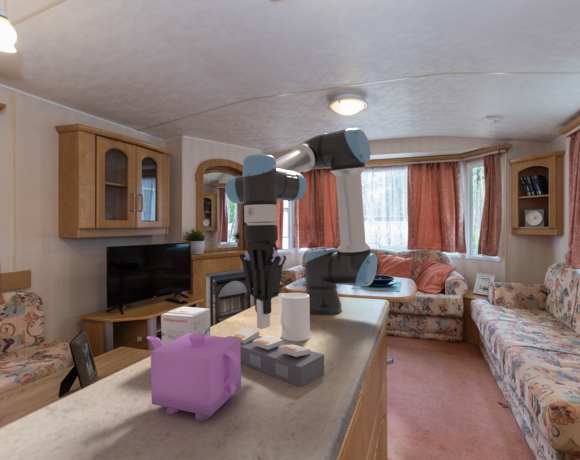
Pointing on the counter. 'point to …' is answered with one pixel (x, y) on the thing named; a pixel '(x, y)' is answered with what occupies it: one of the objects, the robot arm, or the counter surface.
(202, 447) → the counter surface
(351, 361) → the counter surface
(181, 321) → the ink box
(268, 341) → the rocker
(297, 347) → the rocker
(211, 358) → the teapot
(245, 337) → the rocker
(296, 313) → the mug
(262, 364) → the power strip
